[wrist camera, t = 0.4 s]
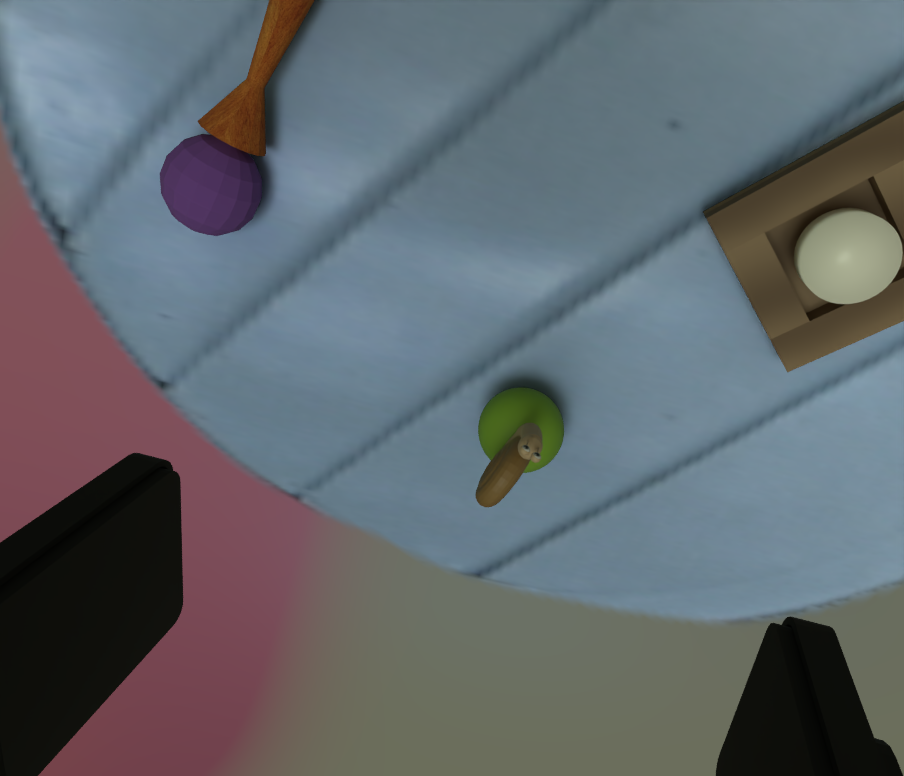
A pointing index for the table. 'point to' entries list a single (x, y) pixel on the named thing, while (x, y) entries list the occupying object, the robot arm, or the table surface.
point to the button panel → (790, 211)
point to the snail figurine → (516, 439)
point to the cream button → (848, 255)
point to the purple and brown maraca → (230, 140)
